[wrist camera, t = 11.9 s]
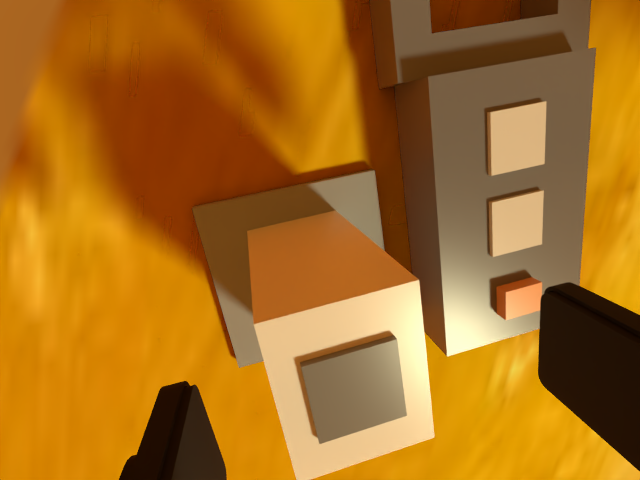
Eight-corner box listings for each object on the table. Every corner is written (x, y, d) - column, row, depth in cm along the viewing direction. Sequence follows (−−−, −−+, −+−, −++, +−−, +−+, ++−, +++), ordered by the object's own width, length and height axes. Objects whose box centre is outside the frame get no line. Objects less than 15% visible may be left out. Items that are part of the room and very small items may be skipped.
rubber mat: (371, 169, 16) (374, 170, 16) (389, 319, 19) (393, 324, 18) (193, 206, 15) (191, 208, 15) (238, 361, 18) (239, 367, 17)
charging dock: (557, -212, 14) (661, -324, 10) (541, 288, 20) (600, 319, 17) (347, -201, 12) (386, -325, 9) (405, 327, 19) (440, 368, 16)
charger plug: (335, 210, 16) (423, 283, 8) (352, 307, 18) (438, 443, 10) (247, 230, 15) (253, 328, 8) (272, 329, 17) (299, 490, 9)
